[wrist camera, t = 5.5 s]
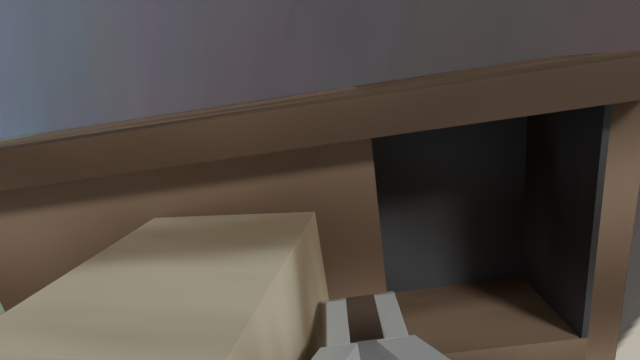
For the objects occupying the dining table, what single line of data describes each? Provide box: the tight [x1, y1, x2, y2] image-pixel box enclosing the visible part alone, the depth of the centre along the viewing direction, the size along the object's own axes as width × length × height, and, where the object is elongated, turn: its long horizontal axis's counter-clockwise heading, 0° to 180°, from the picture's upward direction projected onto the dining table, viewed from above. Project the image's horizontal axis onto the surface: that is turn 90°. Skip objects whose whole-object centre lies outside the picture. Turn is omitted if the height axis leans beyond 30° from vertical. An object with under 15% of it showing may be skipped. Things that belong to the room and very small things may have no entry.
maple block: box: [0, 212, 329, 360], centre depth 8 cm, size 5×5×5 cm
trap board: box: [0, 50, 640, 360], centre depth 13 cm, size 15×27×6 cm, turn 98°
